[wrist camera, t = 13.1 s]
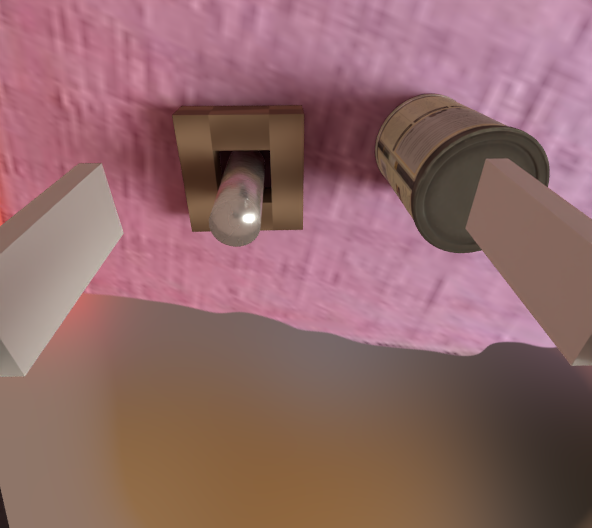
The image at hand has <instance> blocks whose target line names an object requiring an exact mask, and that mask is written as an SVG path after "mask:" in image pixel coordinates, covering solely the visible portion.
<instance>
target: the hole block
mask: <svg viewBox="0 0 592 528" xmlns="http://www.w3.org/2000/svg"><path fill="white" fill-rule="evenodd" d="M172 118H173V123H174V129H175V135H176V141H177V147H178V152H179V158H180V164H181V170H182V175H183V181H184V187H185V193H186V199H187V204H188V210H189V216H190V222H191V227H192V232H203V231H211V230H210V227H209V217H210V214H211V211H212V208H213V205H214V202H215V199H216V196H217V193H218V190H219V187H220V184H221V181H222V170H221V161H220V152H219V151H226V150H270V162H271V188H264V189H263V201H262V214H261V227H260V230H303V171H304V112H303V108H302V105H276V106H181V107H180V108H179V109H178V110H177V111H176V112H175V113H174V114H173V115H172Z"/></svg>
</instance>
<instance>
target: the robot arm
mask: <svg viewBox="0 0 592 528" xmlns="http://www.w3.org/2000/svg"><path fill="white" fill-rule="evenodd" d="M465 229H466V230H467V231H468V232H469V234H470V235H471V236H472V238H473V239H474V240H475V242H476V243H477V244H478V245H479V247H480V248H481V249H482V251H483V252H484V253H485V254H486V256H487V257H488V258H489V260H490V261H491V262H492V264H493V265H494V266H495V267H496V269H497V270H498V271H499V273H500V274H501V275H502V276H503V278H504V279H505V280H506V282H507V283H508V284H509V286H510V287H511V288H512V289H513V291H514V292H515V293H516V295H517V296H518V297H519V298H520V300H521V301H522V302H523V304H524V305H525V306H526V308H527V309H528V310H529V311H530V313H531V314H532V315H533V317H534V318H535V319H536V320H537V322H538V323H539V324H540V326H541V327H542V328H543V330H544V331H545V332H546V333H547V335H548V336H549V337H550V339H551V340H552V341H553V342H554V344H555V345H556V346H557V348H558V349H559V350H560V351H561V353H562V354H563V355H564V357H565V358H566V359H567V360H568V362H569V363H570V364H571V366H579V365H592V219H590V218H589V217H588V216H586V215H585V214H584V213H582V212H581V211H579V210H578V209H577V208H575V207H574V206H573V205H571V204H570V203H568V202H567V201H566V200H564V199H563V198H562V197H560V196H559V195H557V194H556V193H555V192H553V191H552V190H551V189H549V188H548V187H546V186H545V185H544V184H542V183H541V182H540V181H538V180H537V179H536V178H534V177H533V176H531V175H530V174H529V173H527V172H526V171H525V170H523V169H522V168H520V167H519V166H518V165H516V164H515V163H514V162H512V161H511V160H509V159H508V158H504V159H486V160H485V164H484V167H483V170H482V174H481V177H480V181H479V184H478V187H477V191H476V194H475V198H474V201H473V204H472V208H471V211H470V215H469V218H468V221H467V225H466V228H465ZM122 235H123V230H122V227H121V224H120V220H119V217H118V214H117V211H116V208H115V204H114V201H113V198H112V195H111V191H110V188H109V185H108V182H107V179H106V175H105V172H104V169H103V166H102V163H79V164H78V165H76V166H75V167H74V168H73V169H71V170H70V171H69V172H68V173H66V174H65V175H64V176H63V177H61V178H60V179H59V180H58V181H56V182H55V183H54V184H53V185H51V186H50V187H49V188H48V189H46V190H45V191H44V192H43V193H41V194H40V195H39V196H38V197H36V198H35V199H34V200H33V201H31V202H30V203H29V204H28V205H26V206H25V207H24V208H23V209H21V210H20V211H19V212H18V213H16V214H15V215H14V216H13V217H11V218H10V219H9V220H8V221H6V222H5V223H4V224H3V225H1V226H0V377H7V376H8V377H11V376H25V375H26V374H27V372H28V371H29V370H30V368H31V367H32V365H33V364H34V362H35V361H36V359H37V358H38V357H39V355H40V353H41V352H42V351H43V349H44V348H45V346H46V345H47V344H48V342H49V341H50V339H51V338H52V336H53V335H54V333H55V331H56V330H57V329H58V328H59V326H60V325H61V323H62V322H63V320H64V319H65V317H66V316H67V315H68V313H69V312H70V310H71V309H72V307H73V306H74V304H75V303H76V301H77V300H78V299H79V297H80V296H81V294H82V293H83V291H84V290H85V288H86V287H87V286H88V284H89V283H90V281H91V280H92V278H93V277H94V275H95V274H96V273H97V271H98V270H99V268H100V267H101V265H102V264H103V262H104V261H105V259H106V258H107V257H108V255H109V254H110V252H111V251H112V249H113V248H114V246H115V245H116V244H117V242H118V241H119V239H120V238H121V236H122ZM0 528H9V524H8V520H7V515H6V511H5V507H4V502H3V498H2V493H1V489H0Z"/></svg>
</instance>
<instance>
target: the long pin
mask: <svg viewBox="0 0 592 528" xmlns="http://www.w3.org/2000/svg"><path fill="white" fill-rule="evenodd" d="M264 176H265V160H264V157H263V155H262V154H261V153H260V152H259V151H258V150H234V151H233V152H232V153H231V155H230V157H229V160H228V163H227V166H226V169H225V172H224V175H223V178H222V181H221V184H220V187H219V190H218V193H217V196H216V199H215V202H214V205H213V208H212V211H211V214H210V217H209V227H210V230H211V232H212V234H213V235H214V237H215V238H216V239H217V240H218V241H220V242H221V243H223V244H226V245H229V246H235V247H238V246H244V245H247V244H249V243H251V242H252V241H253V240H255V238H256V237H257V236H258V234H259V232H260V227H261V214H262V201H263V189H264Z"/></svg>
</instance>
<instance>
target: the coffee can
mask: <svg viewBox="0 0 592 528" xmlns="http://www.w3.org/2000/svg"><path fill="white" fill-rule="evenodd" d="M375 156H376V162H377V165H378V168H379V170H380V172H381V173H382V175H383V176H384V177H385V178H386V179H387V181H388V182H389V184H390V185H391V187H392V188H393V190H394V191H395V193H396V194H397V196H398V197H399V199H400V200H401V202H402V203H403V205H404V206H405V208H406V209H407V211H408V212H409V214H410V215H411V217H412V218H413V220H414V222H415V225H416V227H417V229H418V231H419V232H420V234H421V235H422V236H423V238H424V239H425V240H426V241H428V242H429V243H430V244H432V245H433V246H435V247H437V248H439V249H442V250H444V251H448V252H453V253H470V252H476V251H481V250H482V249H481V248H480V247H479V245H478V244H477V243H476V242H475V240H474V239H473V238H472V236H471V235H470V234H469V232H468V231H467V230H466V229H465V228H466V225H467V221H468V218H469V215H470V211H471V208H472V204H473V201H474V198H475V194H476V191H477V187H478V184H479V181H480V177H481V174H482V170H483V167H484V164H485V160H486V159H504V158H508V159H509V160H511V161H512V162H514V163H515V164H516V165H518V166H519V167H520V168H522V169H523V170H525V171H526V172H527V173H529V174H530V175H531V176H533V177H534V178H536V179H537V180H538V181H540V182H541V183H542V184H544V185H545V186H546V187H548V183H549V172H550V170H549V162H548V158H547V155H546V153H545V151H544V149H543V147H542V146H541V145H540V144H539V142H538V141H537V140H536V139H535V138H533V137H532V136H531V135H529V134H528V133H526V132H524V131H522V130H519V129H516V128H513V127H509V126H506V125H504V124H502V123H500V122H498V121H496V120H493V119H491V118H489V117H487V116H485V115H483V114H481V113H479V112H477V111H475V110H472V109H470V108H468V107H466V106H464V105H462V104H460V103H457V102H456V101H455V100H453V99H451V98H449V97H447V96H443V95H439V94H423V95H419V96H417V97H414V98H411V99H409V100H407V101H405V102H404V103H402V104H401V105H399V106H398V107H397V108H396V109H395V110H394V111H393V112H392V113H391V114H390V115H389V116H388V117H387V118H386V120H385V122H384V123H383V125H382V126H381V129H380V131H379V133H378V136H377V140H376V145H375Z"/></svg>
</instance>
